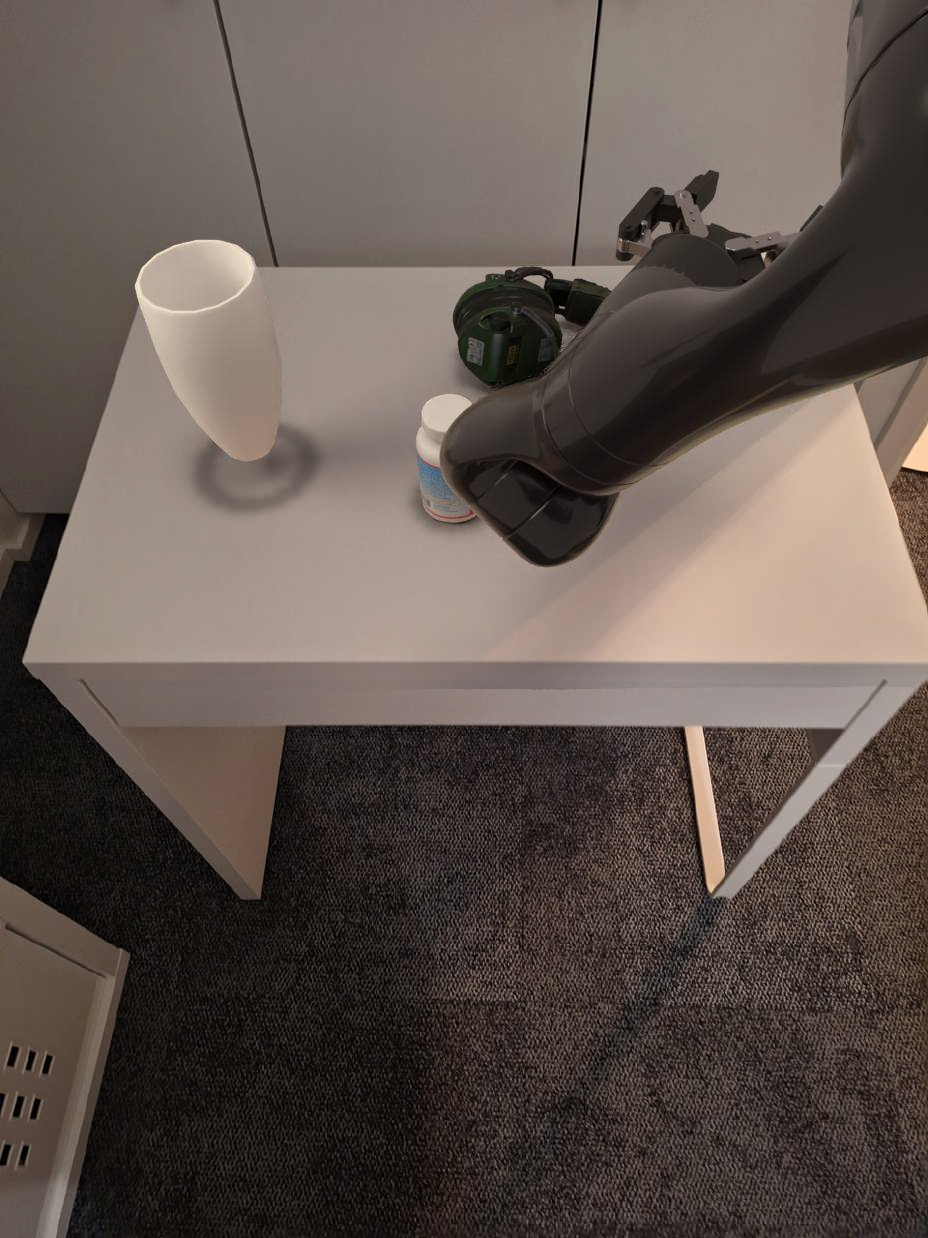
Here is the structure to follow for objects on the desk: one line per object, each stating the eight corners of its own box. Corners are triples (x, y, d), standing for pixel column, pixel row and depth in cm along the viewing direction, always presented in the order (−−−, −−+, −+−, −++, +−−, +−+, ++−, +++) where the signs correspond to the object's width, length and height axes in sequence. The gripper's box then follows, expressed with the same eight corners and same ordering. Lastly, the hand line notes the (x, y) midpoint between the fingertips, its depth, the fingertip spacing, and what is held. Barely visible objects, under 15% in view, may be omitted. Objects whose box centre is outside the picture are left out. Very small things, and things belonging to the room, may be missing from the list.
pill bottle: (486, 525, 85) (484, 437, 75) (420, 525, 85) (410, 438, 75) (486, 476, 88) (484, 386, 79) (423, 477, 88) (414, 387, 79)
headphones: (471, 398, 86) (672, 396, 89) (469, 247, 83) (675, 252, 87) (447, 405, 99) (623, 404, 102) (444, 275, 96) (625, 278, 100)
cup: (327, 476, 89) (283, 286, 71) (228, 521, 86) (156, 335, 68) (283, 412, 94) (231, 220, 76) (187, 453, 91) (110, 263, 73)
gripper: (777, 311, 55) (877, 179, 62) (571, 236, 59) (686, 121, 67) (749, 405, 61) (843, 275, 68) (565, 330, 66) (671, 216, 73)
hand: (765, 199), depth 67 cm, fingers open, 8 cm apart
